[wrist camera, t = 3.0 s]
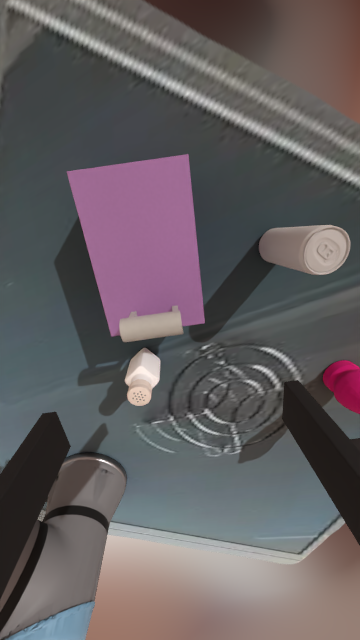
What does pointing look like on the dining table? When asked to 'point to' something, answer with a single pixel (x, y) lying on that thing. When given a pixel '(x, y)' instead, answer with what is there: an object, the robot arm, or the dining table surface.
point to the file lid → (142, 245)
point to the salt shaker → (142, 377)
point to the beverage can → (306, 248)
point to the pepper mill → (344, 383)
